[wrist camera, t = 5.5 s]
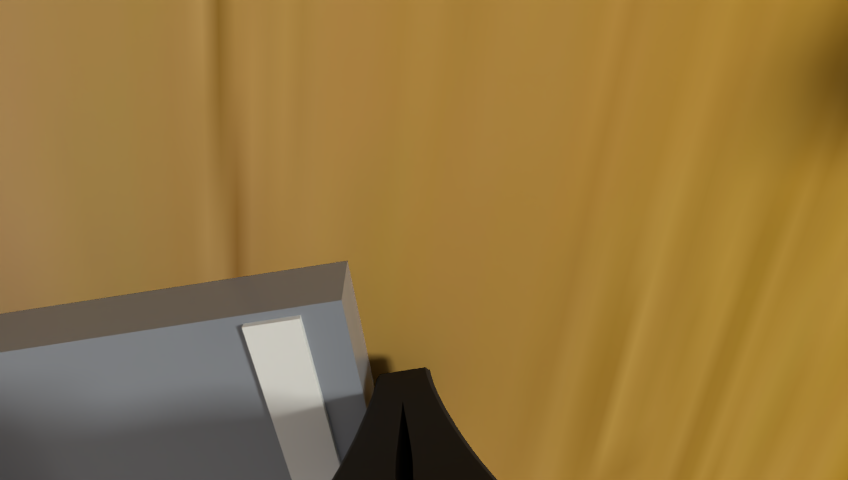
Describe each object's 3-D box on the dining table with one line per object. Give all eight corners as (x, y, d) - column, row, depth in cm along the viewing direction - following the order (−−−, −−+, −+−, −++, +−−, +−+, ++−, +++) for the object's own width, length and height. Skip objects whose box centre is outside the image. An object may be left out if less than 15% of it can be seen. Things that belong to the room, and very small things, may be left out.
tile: (347, 255, 13) (341, 303, 11) (393, 463, 16) (394, 535, 13) (-100, 323, 13) (-199, 386, 10) (27, 521, 15) (-30, 602, 13)
